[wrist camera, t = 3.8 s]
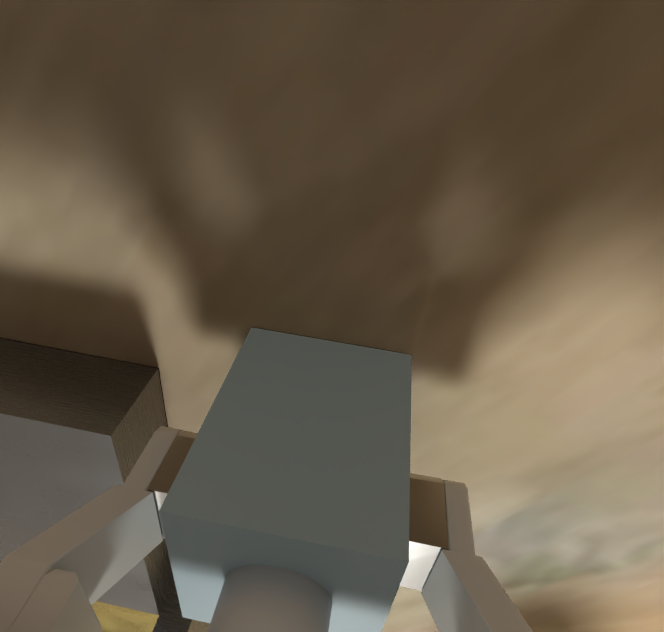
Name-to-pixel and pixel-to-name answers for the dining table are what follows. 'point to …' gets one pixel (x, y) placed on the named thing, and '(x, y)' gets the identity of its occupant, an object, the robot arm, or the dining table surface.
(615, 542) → the dining table surface
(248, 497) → the light blue tall block
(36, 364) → the rail
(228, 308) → the dining table surface
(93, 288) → the dining table surface
